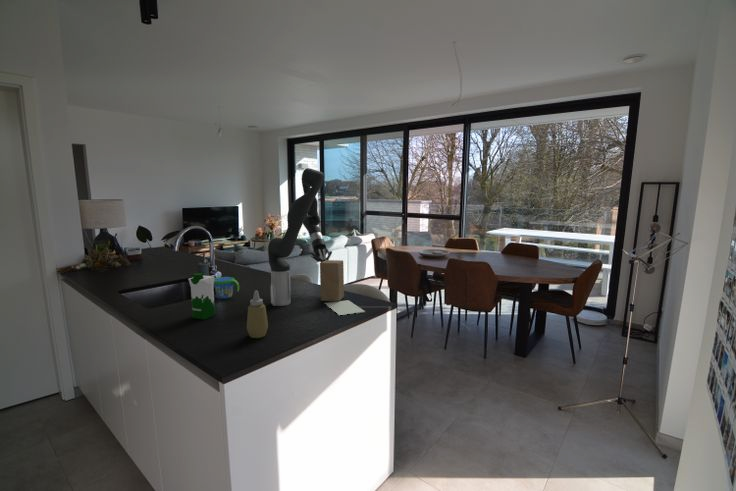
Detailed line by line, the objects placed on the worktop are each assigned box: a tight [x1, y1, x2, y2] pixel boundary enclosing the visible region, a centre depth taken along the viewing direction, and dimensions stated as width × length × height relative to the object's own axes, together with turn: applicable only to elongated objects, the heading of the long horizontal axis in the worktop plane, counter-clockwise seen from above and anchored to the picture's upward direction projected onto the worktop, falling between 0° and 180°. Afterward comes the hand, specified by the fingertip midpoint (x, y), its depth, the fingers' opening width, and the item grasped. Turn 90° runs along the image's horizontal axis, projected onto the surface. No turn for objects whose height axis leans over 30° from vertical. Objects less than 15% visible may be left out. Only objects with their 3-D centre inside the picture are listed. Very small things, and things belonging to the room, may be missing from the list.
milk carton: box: [188, 272, 217, 320], centre depth 164 cm, size 9×9×20 cm
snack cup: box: [213, 276, 240, 300], centre depth 195 cm, size 16×10×10 cm
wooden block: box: [319, 259, 345, 302], centre depth 192 cm, size 10×10×20 cm
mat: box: [324, 300, 366, 317], centre depth 179 cm, size 13×20×1 cm, turn 26°
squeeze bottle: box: [246, 290, 269, 339], centre depth 142 cm, size 8×8×18 cm
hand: (325, 266), depth 201 cm, fingers closed
